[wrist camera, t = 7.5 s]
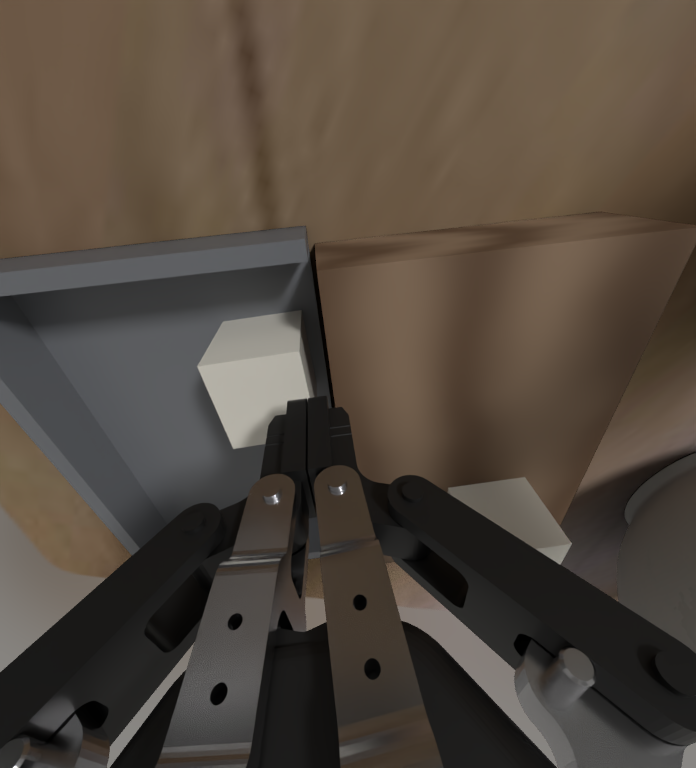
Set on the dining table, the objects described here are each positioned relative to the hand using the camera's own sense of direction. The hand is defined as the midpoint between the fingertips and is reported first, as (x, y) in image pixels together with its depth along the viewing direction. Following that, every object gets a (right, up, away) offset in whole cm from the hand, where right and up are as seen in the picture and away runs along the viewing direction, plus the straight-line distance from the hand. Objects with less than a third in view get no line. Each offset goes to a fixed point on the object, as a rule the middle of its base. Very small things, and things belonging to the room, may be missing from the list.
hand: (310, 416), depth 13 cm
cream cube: (0, +2, +3) cm, 4 cm away
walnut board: (+8, 0, +9) cm, 12 cm away
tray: (-7, -1, +8) cm, 11 cm away
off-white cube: (+10, -6, +7) cm, 14 cm away
